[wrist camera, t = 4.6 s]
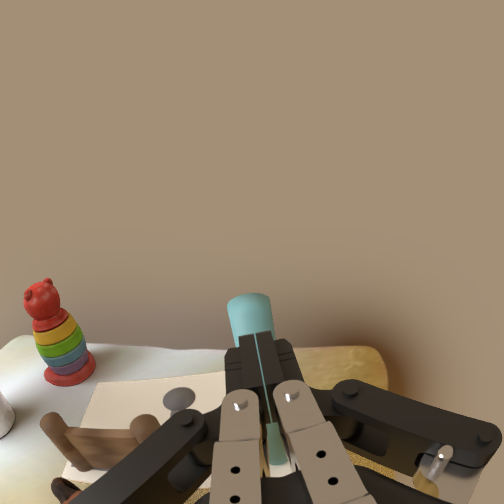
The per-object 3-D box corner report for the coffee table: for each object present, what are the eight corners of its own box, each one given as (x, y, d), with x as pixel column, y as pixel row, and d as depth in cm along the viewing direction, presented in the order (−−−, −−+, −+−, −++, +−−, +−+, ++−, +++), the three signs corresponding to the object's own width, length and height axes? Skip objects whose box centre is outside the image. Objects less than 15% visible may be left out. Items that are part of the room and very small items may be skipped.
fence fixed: (73, 470, 25) (36, 428, 22) (78, 453, 28) (45, 411, 25) (183, 477, 26) (156, 435, 23) (184, 457, 29) (159, 413, 26)
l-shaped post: (184, 475, 26) (107, 334, 19) (185, 455, 29) (118, 313, 22) (293, 462, 26) (273, 309, 20) (288, 441, 29) (266, 289, 23)
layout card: (62, 478, 24) (61, 477, 24) (98, 383, 43) (97, 381, 43) (301, 475, 25) (300, 473, 25) (273, 363, 44) (272, 361, 44)
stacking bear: (77, 349, 53) (45, 269, 47) (108, 360, 49) (72, 271, 43) (42, 379, 43) (1, 295, 38) (70, 395, 40) (22, 301, 34)
